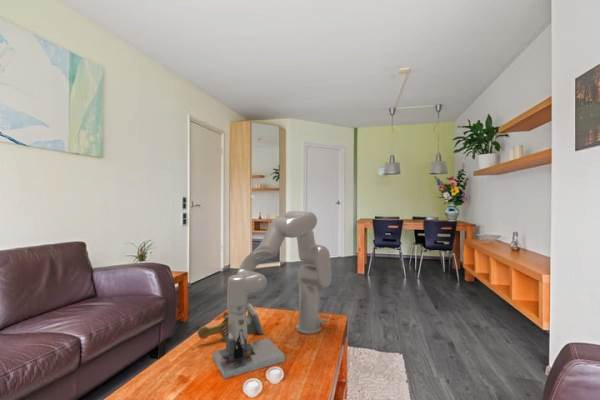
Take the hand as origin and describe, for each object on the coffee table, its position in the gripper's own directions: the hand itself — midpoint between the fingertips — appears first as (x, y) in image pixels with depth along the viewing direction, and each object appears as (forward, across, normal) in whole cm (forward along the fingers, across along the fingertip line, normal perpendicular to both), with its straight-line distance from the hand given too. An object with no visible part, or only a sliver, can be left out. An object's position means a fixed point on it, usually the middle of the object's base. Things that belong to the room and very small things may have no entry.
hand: (236, 354), depth 114 cm
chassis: (+3, 0, -5) cm, 6 cm away
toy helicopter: (+4, +20, -1) cm, 21 cm away
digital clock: (+4, +26, -17) cm, 31 cm away
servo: (+1, 0, 0) cm, 1 cm away
